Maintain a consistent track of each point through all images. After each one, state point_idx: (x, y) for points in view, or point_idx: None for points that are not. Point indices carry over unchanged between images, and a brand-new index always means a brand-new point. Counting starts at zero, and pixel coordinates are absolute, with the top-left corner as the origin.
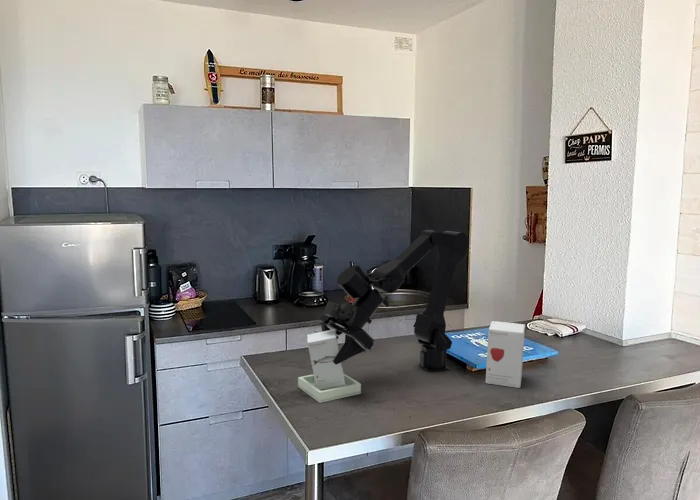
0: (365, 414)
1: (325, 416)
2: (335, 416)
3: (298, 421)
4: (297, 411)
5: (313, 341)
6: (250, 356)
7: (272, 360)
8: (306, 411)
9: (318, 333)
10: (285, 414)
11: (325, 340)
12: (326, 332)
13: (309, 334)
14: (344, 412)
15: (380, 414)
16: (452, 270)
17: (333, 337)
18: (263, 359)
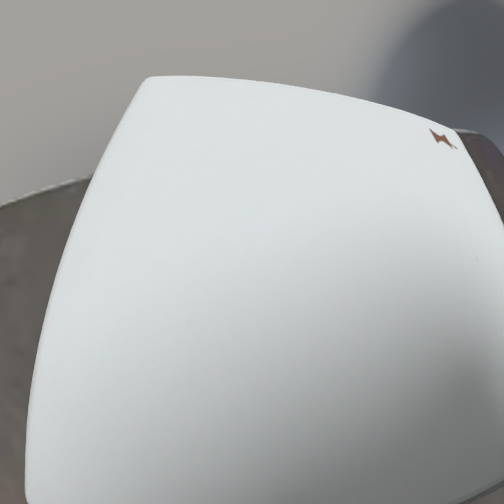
0: (13, 449)
1: (11, 313)
2: (6, 347)
3: (7, 224)
4: (65, 224)
5: (123, 116)
6: (495, 146)
7: (492, 190)
8: (56, 254)
9: (462, 213)
10: (58, 188)
11: (60, 287)
12: (475, 338)
13: (451, 138)
14: (27, 387)
15: (17, 490)
16: None
17: (30, 457)
18: (491, 170)
